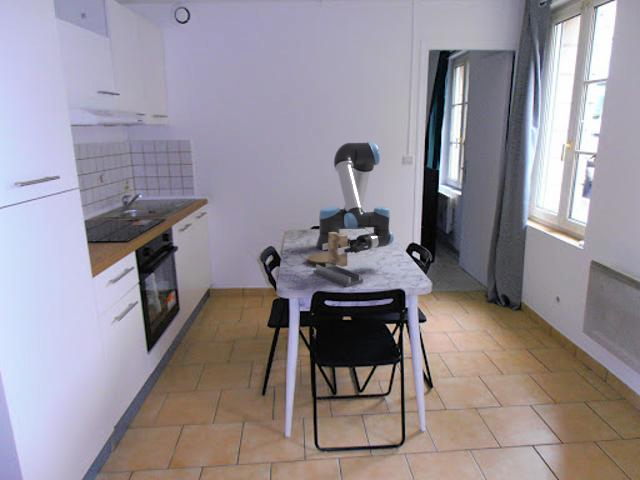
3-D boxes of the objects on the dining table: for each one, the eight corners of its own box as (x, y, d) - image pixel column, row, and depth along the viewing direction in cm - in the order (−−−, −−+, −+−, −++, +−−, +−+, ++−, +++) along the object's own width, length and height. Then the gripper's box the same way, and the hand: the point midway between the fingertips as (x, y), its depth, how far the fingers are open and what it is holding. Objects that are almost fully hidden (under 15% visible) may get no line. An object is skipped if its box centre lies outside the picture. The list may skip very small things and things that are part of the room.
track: (313, 273, 214) (313, 265, 213) (329, 269, 220) (329, 261, 219) (346, 287, 196) (346, 278, 195) (363, 282, 202) (363, 274, 201)
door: (327, 262, 209) (327, 232, 206) (333, 260, 211) (333, 231, 208) (341, 266, 201) (341, 236, 198) (347, 265, 203) (347, 235, 200)
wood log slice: (337, 258, 240) (337, 253, 240) (339, 267, 225) (339, 261, 224) (307, 258, 240) (307, 253, 240) (307, 267, 225) (307, 262, 224)
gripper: (383, 254, 207) (346, 262, 194) (351, 245, 225) (315, 252, 212) (383, 238, 205) (346, 246, 192) (351, 230, 223) (315, 236, 210)
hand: (330, 249), depth 202 cm, fingers closed on door, 10 cm apart
